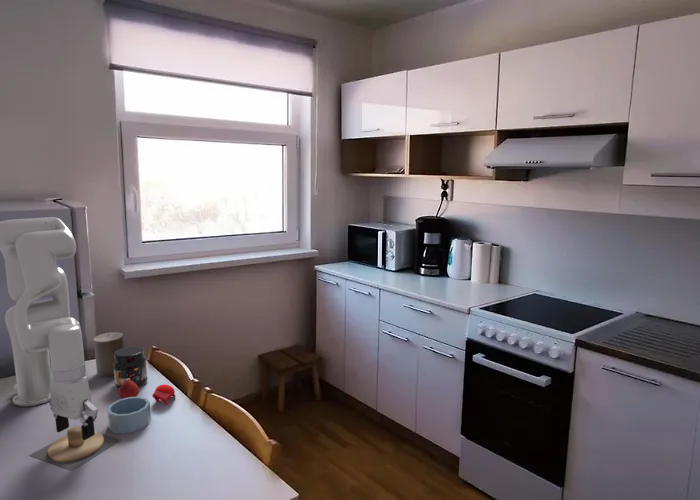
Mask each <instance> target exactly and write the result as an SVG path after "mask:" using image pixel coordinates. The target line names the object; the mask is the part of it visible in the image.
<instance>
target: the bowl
mask: <svg viewBox="0 0 700 500" xmlns="http://www.w3.org/2000/svg"><path fill="white" fill-rule="evenodd" d="M106 414H107V426H108V428H109V430H110V431H111V432H112V433H115V434H129V433H134V432H136V431H139V430H141V429H143V428H145V427H147V426H148V424H150V422H151V420H152V413H151V402H150V400H149V399H148V398H145V397H143V396H137V397H128V398H124V399H121V398H120V399H118V400H115V401H114V402H112V403H110V404H109V406H108V407H107V409H106Z"/></svg>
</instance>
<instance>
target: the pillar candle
mask: <svg viewBox="0 0 700 500" xmlns="http://www.w3.org/2000/svg"><path fill="white" fill-rule="evenodd" d="M93 345H94V346H93V347H94V355H95V363H96V364H95V365H96V375H97V376H98V378H105V379H107V378H108V379H109V378H114V369H113V361H114V352H115V351H116V350H118V349H121V348H124V347H125V344H124V335H123V332H115V331H114V332H106V333H102V334H101V333H100V334H98V335H97V336H95V337H94V338H93Z"/></svg>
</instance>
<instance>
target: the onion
mask: <svg viewBox="0 0 700 500" xmlns="http://www.w3.org/2000/svg"><path fill="white" fill-rule="evenodd" d="M139 392H140V387H138V386H137V384H136V383H134V382H132V381H131V379H130V378H128V379H127V380H126V382H124V383H123V384H122V385H121V387H120V389H119V388H118V396H119V398H120V399H124V398H128V397H138V395H139Z"/></svg>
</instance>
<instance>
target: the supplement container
mask: <svg viewBox="0 0 700 500" xmlns="http://www.w3.org/2000/svg"><path fill="white" fill-rule="evenodd" d="M113 369H114V377H113V379H114V381H113V382H114V386H115V387H116V388H117V389H118V390H119V389H120V387H121V385H122V384H123V383H124V382H126V380H127V379H128V378H130V379H131V381H132V382H134V383H136V384H137V386H138V388H141V387H143V385H145V384H146V383H147V382H148V371H147V370H148V369H147V357H146V356H145V349H144V348H143V347H141V346H138V345H137V346H135V345H132V346H124V348H121V349H118V350H116V351H115V352H114V361H113Z"/></svg>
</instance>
